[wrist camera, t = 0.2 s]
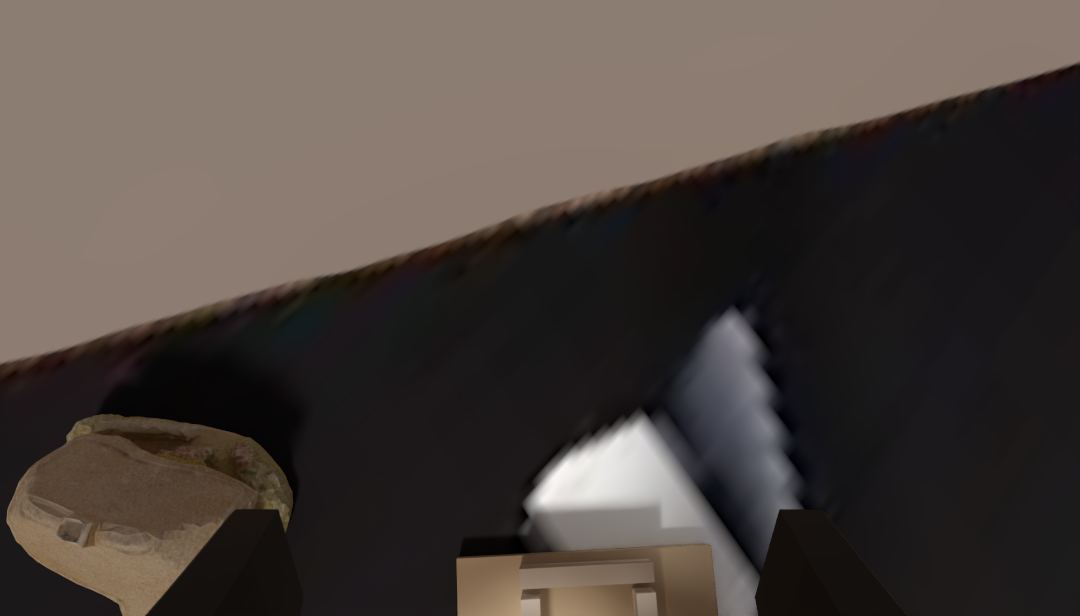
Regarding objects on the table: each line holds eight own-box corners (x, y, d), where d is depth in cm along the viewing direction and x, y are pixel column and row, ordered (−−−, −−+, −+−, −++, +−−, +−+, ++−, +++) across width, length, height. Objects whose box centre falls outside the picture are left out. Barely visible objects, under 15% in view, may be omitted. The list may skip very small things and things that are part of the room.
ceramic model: (331, 467, 42) (265, 462, 32) (249, 663, 39) (150, 723, 29) (118, 386, 43) (-9, 357, 33) (25, 571, 40) (-141, 599, 31)
